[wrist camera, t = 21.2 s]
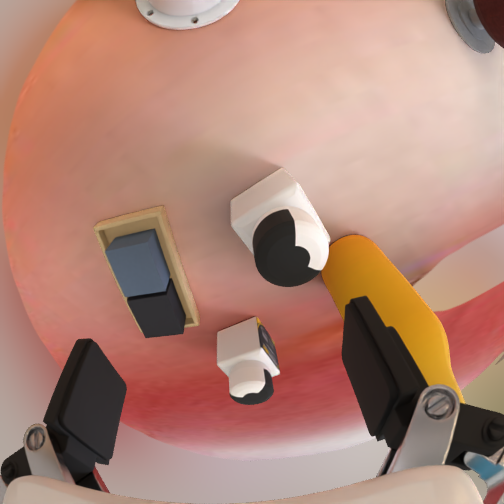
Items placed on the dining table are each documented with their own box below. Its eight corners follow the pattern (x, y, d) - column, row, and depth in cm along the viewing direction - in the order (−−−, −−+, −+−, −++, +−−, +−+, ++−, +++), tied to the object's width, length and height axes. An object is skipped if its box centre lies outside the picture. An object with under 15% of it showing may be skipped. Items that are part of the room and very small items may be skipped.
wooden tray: (99, 221, 34) (92, 227, 32) (163, 204, 34) (160, 210, 32) (143, 324, 42) (141, 332, 41) (200, 316, 42) (199, 325, 40)
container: (263, 246, 37) (278, 310, 26) (229, 200, 34) (229, 251, 23) (313, 215, 36) (351, 268, 24) (282, 165, 32) (313, 198, 21)
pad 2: (133, 284, 38) (126, 301, 34) (171, 277, 38) (167, 295, 34) (150, 320, 41) (145, 338, 38) (186, 315, 41) (183, 333, 38)
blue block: (115, 237, 34) (104, 251, 31) (155, 227, 34) (147, 242, 31) (132, 280, 38) (124, 297, 34) (170, 274, 38) (165, 291, 34)
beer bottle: (306, 271, 40) (383, 471, 14) (346, 220, 36) (485, 401, 11) (349, 295, 43) (429, 461, 17) (387, 251, 39) (504, 404, 14)
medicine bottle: (274, 342, 46) (286, 400, 36) (237, 356, 47) (240, 414, 37) (256, 314, 43) (265, 376, 32) (216, 331, 44) (215, 392, 33)
